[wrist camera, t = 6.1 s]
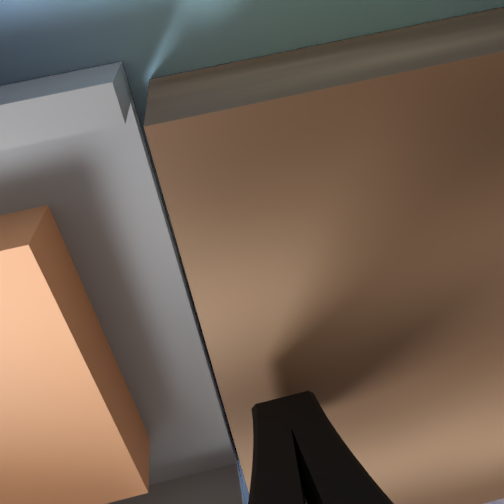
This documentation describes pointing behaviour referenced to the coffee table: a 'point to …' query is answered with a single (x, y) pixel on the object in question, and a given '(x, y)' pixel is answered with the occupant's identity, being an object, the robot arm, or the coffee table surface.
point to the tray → (122, 266)
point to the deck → (353, 242)
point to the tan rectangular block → (59, 380)
